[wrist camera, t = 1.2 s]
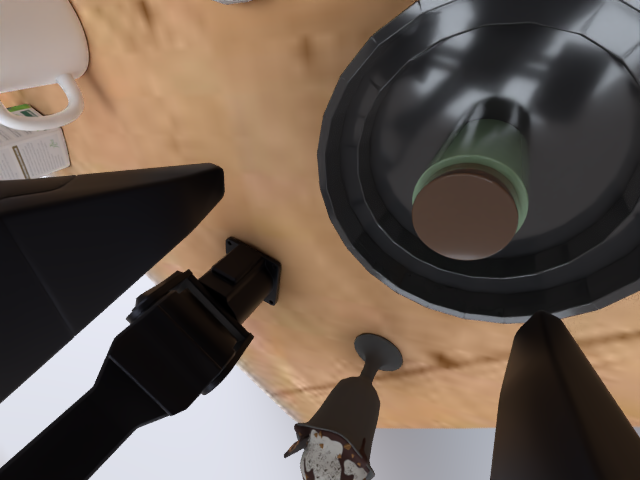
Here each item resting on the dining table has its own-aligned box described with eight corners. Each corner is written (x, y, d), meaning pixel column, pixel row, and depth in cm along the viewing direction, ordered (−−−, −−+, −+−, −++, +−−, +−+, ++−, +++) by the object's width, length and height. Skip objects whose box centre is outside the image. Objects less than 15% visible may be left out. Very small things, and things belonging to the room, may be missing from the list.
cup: (32, -60, 25) (-169, -82, 18) (131, 92, 29) (-2, 123, 22) (15, 7, 30) (-146, 10, 23) (100, 128, 34) (-15, 163, 27)
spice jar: (501, 212, 19) (489, 283, 14) (425, 182, 20) (390, 238, 15) (551, 136, 16) (557, 194, 11) (457, 106, 17) (427, 148, 12)
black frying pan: (545, 312, 21) (546, 367, 18) (330, 214, 26) (301, 245, 22) (838, 27, 11) (964, 38, 8) (392, -59, 15) (353, -74, 12)
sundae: (424, 377, 31) (364, 578, 20) (366, 374, 35) (292, 538, 24) (392, 324, 29) (308, 514, 18) (336, 329, 33) (241, 483, 23)
